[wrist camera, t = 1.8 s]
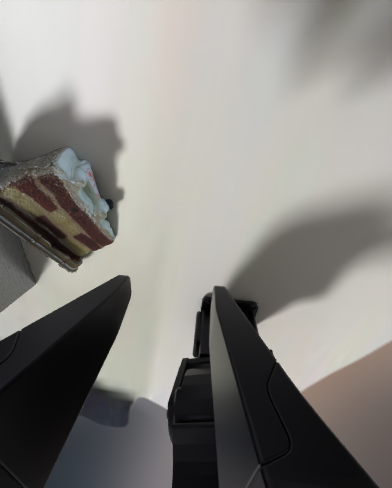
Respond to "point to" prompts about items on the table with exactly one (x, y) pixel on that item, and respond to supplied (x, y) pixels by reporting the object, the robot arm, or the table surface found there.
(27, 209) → the chocolate cake
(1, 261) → the stop rail
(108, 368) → the table surface
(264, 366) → the robot arm
